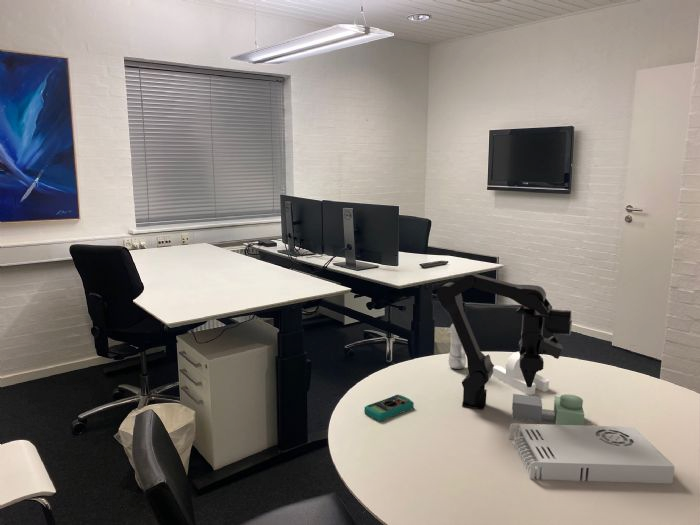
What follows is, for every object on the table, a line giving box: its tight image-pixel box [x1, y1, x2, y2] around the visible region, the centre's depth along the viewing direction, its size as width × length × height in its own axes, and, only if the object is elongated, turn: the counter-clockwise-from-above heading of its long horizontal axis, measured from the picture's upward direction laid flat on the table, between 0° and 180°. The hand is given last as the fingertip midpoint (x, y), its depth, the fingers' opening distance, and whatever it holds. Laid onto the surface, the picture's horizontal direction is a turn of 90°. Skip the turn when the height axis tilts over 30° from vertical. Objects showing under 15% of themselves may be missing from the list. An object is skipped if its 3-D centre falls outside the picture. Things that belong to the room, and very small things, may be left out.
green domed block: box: [541, 393, 585, 426], centre depth 150 cm, size 18×10×7 cm, turn 73°
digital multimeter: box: [363, 394, 415, 422], centre depth 155 cm, size 7×15×3 cm, turn 129°
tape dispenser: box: [491, 351, 550, 396], centre depth 176 cm, size 10×18×11 cm, turn 25°
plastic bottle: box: [447, 323, 467, 370], centre depth 188 cm, size 6×7×20 cm
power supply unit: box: [508, 423, 675, 484], centre depth 129 cm, size 19×33×5 cm, turn 87°
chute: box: [511, 393, 543, 423], centre depth 152 cm, size 8×6×5 cm
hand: (528, 380), depth 151 cm, fingers open, 9 cm apart
